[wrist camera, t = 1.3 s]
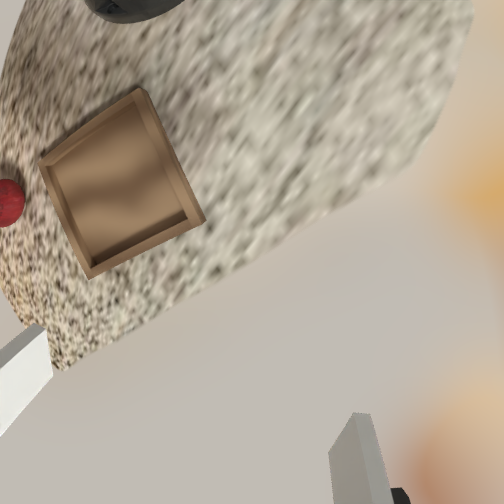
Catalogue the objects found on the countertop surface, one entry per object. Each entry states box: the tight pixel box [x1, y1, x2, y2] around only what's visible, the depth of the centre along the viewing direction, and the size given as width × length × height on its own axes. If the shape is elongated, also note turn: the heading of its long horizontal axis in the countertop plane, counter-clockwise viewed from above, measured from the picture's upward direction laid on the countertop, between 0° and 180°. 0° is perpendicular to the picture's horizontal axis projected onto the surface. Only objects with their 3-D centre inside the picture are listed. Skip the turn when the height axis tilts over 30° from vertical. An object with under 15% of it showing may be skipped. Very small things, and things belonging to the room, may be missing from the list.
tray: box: [38, 88, 207, 280], centre depth 30 cm, size 15×15×2 cm
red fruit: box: [0, 179, 25, 227], centre depth 28 cm, size 6×6×8 cm
